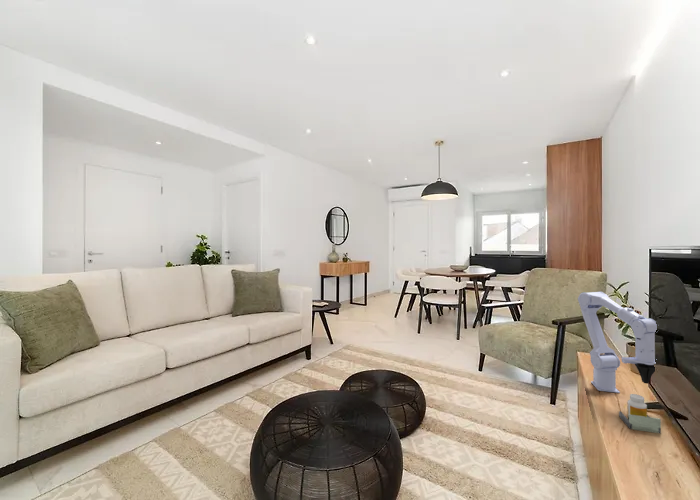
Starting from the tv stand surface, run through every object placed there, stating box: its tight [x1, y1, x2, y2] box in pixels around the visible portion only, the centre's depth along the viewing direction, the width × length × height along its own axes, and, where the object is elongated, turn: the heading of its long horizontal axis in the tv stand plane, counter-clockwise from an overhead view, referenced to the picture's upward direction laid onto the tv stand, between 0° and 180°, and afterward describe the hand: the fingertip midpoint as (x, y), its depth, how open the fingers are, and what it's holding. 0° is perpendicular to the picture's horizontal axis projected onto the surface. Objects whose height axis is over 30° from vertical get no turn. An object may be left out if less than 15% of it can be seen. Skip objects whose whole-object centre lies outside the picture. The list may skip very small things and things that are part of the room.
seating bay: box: [618, 410, 662, 434], centre depth 116 cm, size 9×9×5 cm
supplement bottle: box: [626, 393, 648, 420], centre depth 117 cm, size 5×5×10 cm
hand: (645, 382), depth 127 cm, fingers closed
